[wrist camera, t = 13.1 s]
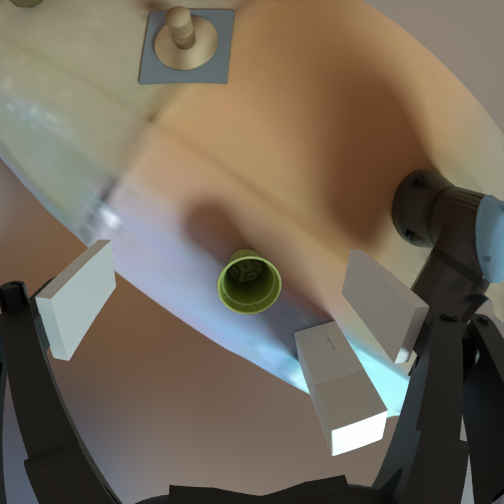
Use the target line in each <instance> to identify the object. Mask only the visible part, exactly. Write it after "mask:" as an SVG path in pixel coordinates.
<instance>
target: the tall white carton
mask: <svg viewBox="0 0 504 504" xmlns="http://www.w3.org/2000/svg"><path fill="white" fill-rule="evenodd" d="M294 336H295V341H296V347H297V353H298V359H299V363H300V366H301V369H302V372H303V375H304V378H305V381H306V384H307V386H308V389H309V392H310V395H311V398H312V401H313V404H314V407H315V410H316V412H317V415H318V418H319V420H320V423H321V426H322V429H323V432H324V435H325V438H326V441H327V444H328V447H329V449H330V452H331V455H332V456H334V455H337V454H341V453H344V452H347V451H350V450H352V449H356V448H358V447H361V446H364V445H366V444H369V443H372V442H374V441H377V440H379V439H381V438H382V435H383V430H384V426H385V421H386V417H387V412H388V410H387V408H386V406H385V404H384V403H383V401H382V399H381V397H380V396H379V394H378V392H377V390H376V389H375V387H374V385H373V383H372V382H371V380H370V378H369V377H368V375H367V373H366V371H365V369H364V368H363V366H362V364H361V363H360V361H359V359H358V357H357V356H356V354H355V352H354V351H353V349H352V347H351V346H350V344H349V342H348V341H347V339H346V338H345V336H344V334H343V333H342V331H341V329H340V328H339V326H338V324H337V323H336V321H332V322H329V323H325V324H322V325H318V326H315V327H311V328H307V329H304V330H300V331H296V332H294Z"/></svg>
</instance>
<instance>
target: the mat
mask: <svg viewBox="0 0 504 504" xmlns="http://www.w3.org/2000/svg"><path fill="white" fill-rule="evenodd" d="M189 12H190V16H196V17H201V18H203V19H205V20H207V21H209V22H210V23H211V24H212V25H213V26H214V27H215V29H216V31H217V34H218V47H217V50H216V52H215V54H214V55H213V57H212V58H211V59H210V60H209V61H208V62H207V63H205V64H204V65H202V66H200V67H198V68H196V69H192V70H186V71H179V70H174V69H171V68H169V67H167V66H165V65H164V64H163V63H162V62H161V61H160V60H159V58H158V57H157V55H156V52H155V40H156V37H157V35H158V33H159V31H160V30H161V29H162V28H163V27H164V26H165V25H166V22H165V14H166V13H167V11H156V12H151V13H150V18H149V23H148V28H147V34H146V39H145V45H144V52H143V58H142V66H141V73H140V81H139V84H158V83H221V84H227V75H228V65H229V55H230V45H231V36H232V27H233V18H234V10H207V9H198V10H189Z"/></svg>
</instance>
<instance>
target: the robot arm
mask: <svg viewBox="0 0 504 504" xmlns="http://www.w3.org/2000/svg"><path fill="white" fill-rule="evenodd" d="M393 221H394V224H395V227H396V230H397V232H398V233H399V235H400V236H401V237H402V238H403V239H404V240H406V241H407V242H409V243H411V244H412V245H414V246H418V247H428V248H433V249H432V251H431V253H430V255H429V257H428V258H427V260H426V262H425V264H424V266H423V268H422V269H421V271H420V273H419V275H418V276H417V278H416V280H415V282H414V283H413V285H412V287H411V288H410V289H409V288H408V287H407V286H406V285H404V284H403V283H402V282H401V281H400V280H399V279H397V278H396V277H395V276H394V275H393V274H391V273H390V272H389V271H388V270H387V269H385V268H384V267H383V266H382V265H380V264H379V263H378V262H377V261H376V260H374V259H373V258H372V257H371V256H369V255H368V254H367V253H366V252H364V251H363V250H355V249H351V250H350V255H349V261H348V266H347V271H346V276H345V281H344V285H343V290H342V294H343V295H344V297H345V298H346V299H347V301H348V302H349V303H350V305H351V306H352V307H353V308H354V310H355V311H356V312H357V314H358V315H359V316H360V318H361V319H362V320H363V322H364V323H365V324H366V326H367V327H368V328H369V330H370V331H371V333H372V334H373V335H374V337H375V338H376V339H377V341H378V342H379V343H380V345H381V346H382V348H383V349H384V350H385V352H386V353H387V354H388V356H389V357H390V359H391V360H392V361H393V363H394V364H396V363H402V362H408V360H409V358H410V356H411V353H412V351H414V352H415V353H416V354H417V357H416V359H415V361H414V364H413V366H412V368H411V370H410V372H409V374H408V376H411V377H410V381H409V385H408V389H407V393H406V396H405V400H404V403H403V407H402V410H401V413H400V416H399V420H398V423H397V426H396V429H395V432H394V434H393V437H392V440H391V443H390V445H389V448H388V451H387V454H386V456H385V458H384V461H383V464H382V466H381V469H380V471H379V473H378V475H377V477H376V479H375V481H374V483H373V485H372V486H371V487H368V486H362V485H354V484H348V483H347V481H346V478H345V475H341V476H336V477H331V478H326V479H320V480H314V481H308V482H304V483H301V484H298V485H295V486H293V487H290V488H287V489H284V490H281V491H278V492H275V493H271V494H268V495H264V496H256V495H249V494H243V493H238V492H232V491H227V490H222V489H217V488H207V487H187V486H174V485H170V486H169V487H170V488H169V495H161V496H157V497H152V498H149V499H145V500H142V501H140V502H138V503H135V504H460V503H461V499H462V494H463V489H464V483H465V477H466V471H467V464H468V455H469V456H470V464H471V474H472V484H473V495H474V503H475V504H504V323H503V322H502V321H501V320H500V319H498V318H497V317H496V316H495V314H494V308H493V302H492V300H490V299H489V298H488V297H486V296H485V292H486V290H487V289H488V287H489V285H490V283H499V282H501V281H503V280H504V201H501V200H499V199H497V198H496V197H494V196H492V195H485V194H482V193H479V192H475V191H471V190H468V189H464V188H460V187H456V186H454V185H453V184H452V183H451V182H449V181H448V180H447V179H446V178H445V177H443V176H442V175H441V174H439V173H437V172H434V171H429V170H417V171H415V172H413V173H411V174H409V175H408V176H407V177H406V178H405V179H404V180H403V181H402V182H401V184H400V186H399V187H398V189H397V192H396V194H395V197H394V202H393ZM115 287H116V284H115V276H114V266H113V256H112V244H111V240H98V241H97V242H95V243H94V244H93V245H92V246H91V247H89V248H88V249H87V250H86V251H85V252H84V253H82V254H81V255H80V256H79V257H78V258H77V259H75V260H74V261H73V262H72V263H71V264H70V265H69V266H68V267H66V268H65V269H64V270H63V271H62V272H61V273H60V274H59V275H58V276H56V277H54V278H53V279H50V280H48V281H47V282H46V283H45V284H44V285H43V286H42V287H41V288H39V289H38V291H36V293H34V294H33V295H32V296H31V297H30V298H28V294H27V290H26V286H25V284H24V282H21V281H12V282H8V283H5V284H3V285H1V286H0V308H1V311H2V314H0V504H7V502H6V495H5V485H4V475H3V453H2V431H3V430H2V429H3V410H4V396H5V388H6V379H7V372H8V378H9V383H10V389H11V395H12V400H13V404H14V409H15V412H16V417H17V420H18V424H19V428H20V432H21V435H22V438H23V442H24V445H25V448H26V451H27V454H28V459H27V460H24V466H25V469H26V473H27V475H28V478H29V480H30V483H31V486H32V488H33V491H34V493H35V495H36V498H37V500H38V502H39V504H123V503H122V502H121V501H120V499H119V498H118V497H117V496H116V494H115V493H114V491H113V490H112V489H111V487H110V485H109V484H108V482H107V481H106V479H105V478H104V476H103V475H102V473H101V472H100V470H99V469H98V467H97V465H96V463H95V462H94V460H93V458H92V456H91V455H90V453H89V451H88V449H87V447H86V446H85V444H84V442H83V440H82V438H81V436H80V434H79V432H78V430H77V428H76V426H75V424H74V422H73V420H72V418H71V416H70V413H69V411H68V409H67V407H66V404H65V402H64V400H63V397H62V395H61V393H60V390H59V388H58V385H57V383H56V380H55V377H54V375H53V372H52V369H51V366H50V364H49V360H48V358H47V355H46V350H47V349H48V347H49V346H50V348H51V351H52V354H53V357H54V358H58V359H63V360H68V361H69V360H70V358H71V356H72V355H73V353H74V351H75V350H76V348H77V346H78V345H79V343H80V341H81V340H82V338H83V336H84V335H85V333H86V332H87V330H88V328H89V327H90V325H91V324H92V322H93V320H94V318H95V317H96V315H97V314H98V313H99V311H100V310H101V308H102V307H103V305H104V303H105V302H106V300H107V299H108V297H109V296H110V294H111V293H112V292H113V290H114V289H115ZM462 415H463V420H464V424H465V430H466V436H467V442H468V443H467V442H466V441H462V440H460V431H461V420H462Z"/></svg>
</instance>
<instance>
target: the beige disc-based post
mask: <svg viewBox="0 0 504 504" xmlns="http://www.w3.org/2000/svg"><path fill="white" fill-rule="evenodd" d="M165 22H166V25H165V26H164V27H163V28H162V29H161V30H160V31H159V33H158V35H157V37H156V40H155V52H156V55H157V57H158V58H159V60H160V61H161V62H162V63H163V64H164V65H165V66H167V67H169V68H171V69H174V70H179V71H186V70H192V69H196V68H198V67H200V66H202V65H204V64H205V63H207V62H208V61H209V60H210V59H211V58H212V57H213V55H214V54H215V52H216V50H217V47H218V34H217V31H216V29H215V27H214V26H213V25H212V24H211V23H210V22H209V21H207V20H205V19H203V18H201V17H196V16H190V12H189V10H188V9H187V8H185V7H182V6H177V7H173V8H171V9H170V10H168V11H167V13H166V14H165Z"/></svg>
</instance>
